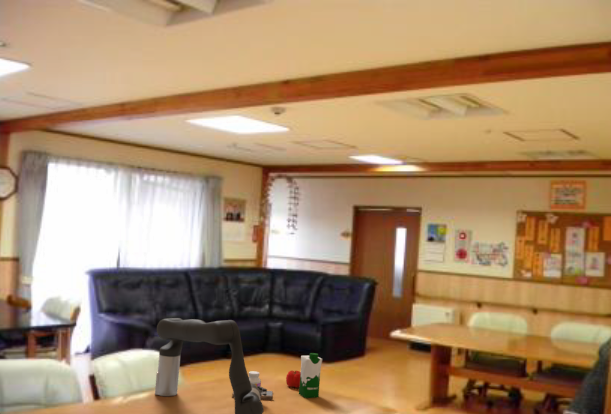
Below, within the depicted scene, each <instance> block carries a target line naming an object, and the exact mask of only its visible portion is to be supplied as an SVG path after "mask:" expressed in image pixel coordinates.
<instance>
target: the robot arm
mask: <svg viewBox="0 0 611 414" xmlns="http://www.w3.org/2000/svg"><path fill="white" fill-rule="evenodd" d="M156 333H157V335H158V337H159V338H160V339H161V340H166V341H168V340H169V342H168V343H166V344H164V345H162V346H160V348H159V354H158V367H157V372H156V377H155V387H154V388H155V389H154V395H157V396H161V397H174V396H176V395H177V394H178V389H179V388H178V387H179V377H180V376H179V374H180V365H181V353H182V349H183V343H184V342H191V343H202V342H205V343H209V344H211V345H215V346H222V345H229V347H230V350H231V361H230V364H229V369H228V378H229V382H230V385H231V388H232V393H233V392H234V414H264V405H263V403H262V400H261V399H260V397H261V396H262V395H264V396H266V395H267V391H268V389H267V388H265V387H262V386H261V387H260V386H256V385H254V383H250V380H249V373H248V370H247V366H246V364H245V358H244V357H245V356H244V352H243V345H242V339H241V332H240V328H239V326H238V324H237V322H236V321H235V320H232V319H228V320H216V321H211V322H206V321H204V320H203V319H202V320H201V319H195V318H194V319H192V318H191V319H182V318H180V317H174V318H172V317H171V318H170V317H169V318H163V319H161V320H160V321H159V322H157V325H156Z"/></svg>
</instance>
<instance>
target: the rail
mask: <svg viewBox="0 0 611 414" xmlns="http://www.w3.org/2000/svg"><path fill="white" fill-rule="evenodd" d="M231 394H232V395H231V398H232V399H233V398H234V393H233V392H232V393H231ZM260 400H263V401H273V395H272V396H271V395H266V396H264V395H262V396H261V397H260Z"/></svg>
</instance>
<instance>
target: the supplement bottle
mask: <svg viewBox="0 0 611 414" xmlns="http://www.w3.org/2000/svg"><path fill="white" fill-rule="evenodd" d="M259 376H260V372H259V371H256V370H255V371H253V370H251V371H249V372H248V377H249V380H250V383H254V385H256V386H260V387H262V385H261V383H262V380H261V379H260V377H259Z"/></svg>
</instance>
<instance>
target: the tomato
mask: <svg viewBox="0 0 611 414" xmlns="http://www.w3.org/2000/svg"><path fill="white" fill-rule="evenodd" d="M300 375H301V370H289V371H288V373H287V374H286V377H285V383H286V385H287V386H288V387H289V388H295V389H297V388H299V387H300Z"/></svg>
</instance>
